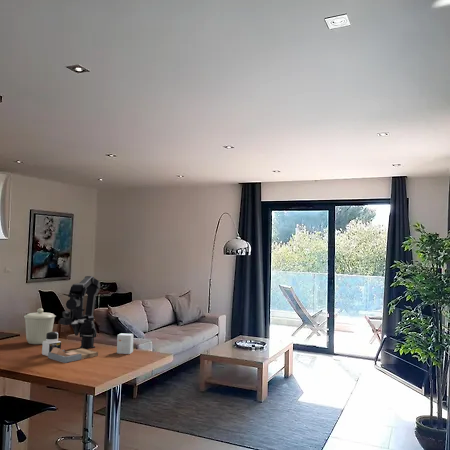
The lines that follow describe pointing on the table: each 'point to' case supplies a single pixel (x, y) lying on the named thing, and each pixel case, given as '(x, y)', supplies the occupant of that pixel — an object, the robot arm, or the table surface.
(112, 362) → the table surface
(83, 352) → the board
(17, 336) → the table surface
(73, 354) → the peach square block
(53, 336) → the medicine bottle
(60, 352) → the tile
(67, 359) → the tray
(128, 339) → the small box
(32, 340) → the canister
